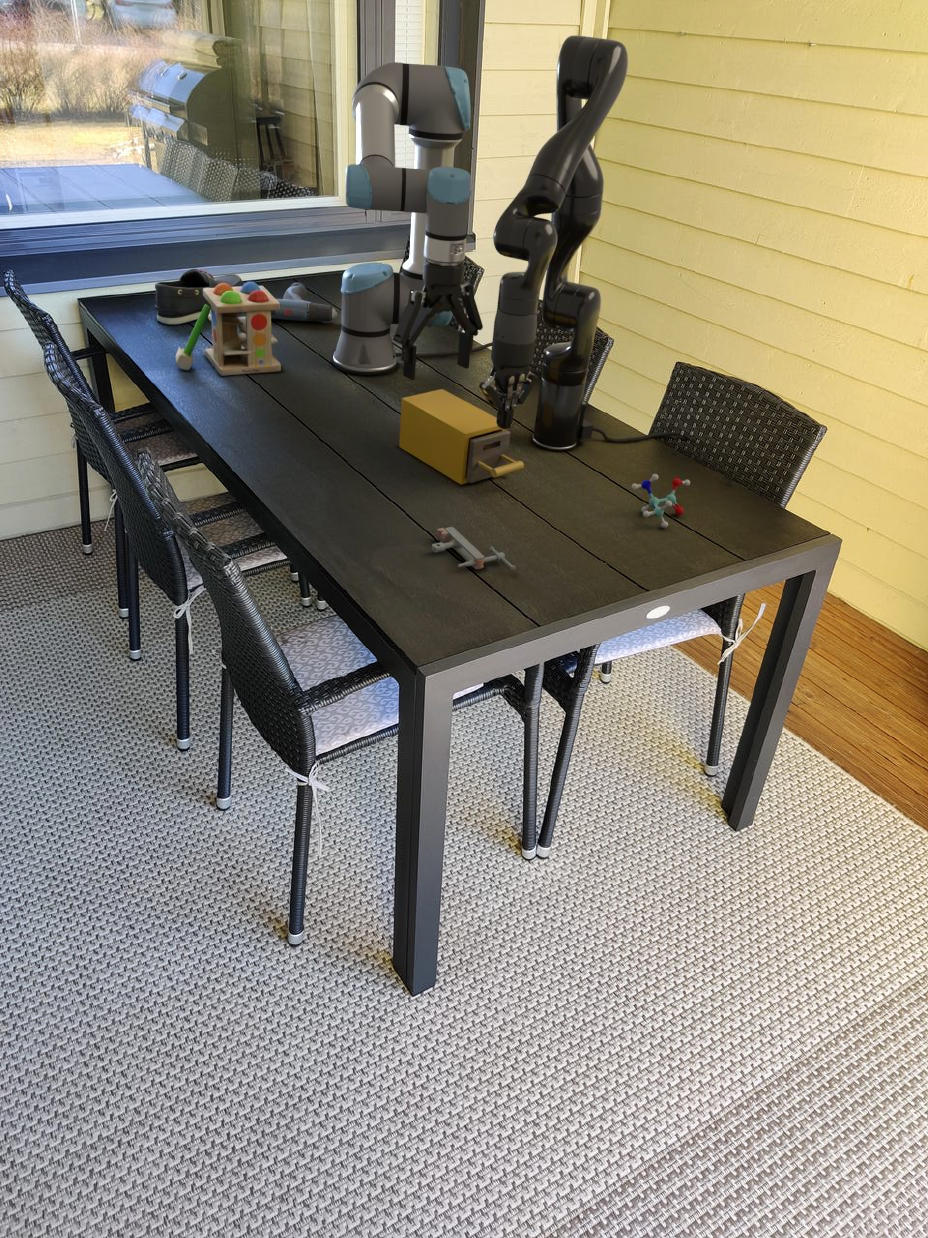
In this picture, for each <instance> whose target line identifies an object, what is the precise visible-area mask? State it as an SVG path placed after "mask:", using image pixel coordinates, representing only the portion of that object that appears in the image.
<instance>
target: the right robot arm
mask: <svg viewBox="0 0 928 1238" xmlns="http://www.w3.org/2000/svg"><path fill="white" fill-rule="evenodd" d="M558 53H559V54H558V58H557V65H556V85H555V86H556V87H555V88H556V89H555V91H556V92H555V93H556V132H555V133H554V134H553V135H552V136H551V137H550V138H549V139H548V140H547V141H546V142H545V143H544V144H543V145H542V147H541V148H540V150H539V151H538V153H537V155H536V156H535V158H534V161H533V162H532V166H531V168H530V170H529V173H528V175H527V177H526V180H525V182H524V185H523V186H522V188H521V189H520V190H519V191H518V193H517V194H516V195H515V197H514V198H513V199H512V201H511V202H510V203H509V204H508V206H507V207H506V209H504V211H503V212H502V214H501V215H500V217H498V220H497V221H496V223H495V226H494V229H493V237H492V239H493V241H492V242H493V245H494V248H495V251H496V252H497V253H498V254H499V255H501V256H503V257H506V258H510V259H514V260H515V259H516V260H519V261H524V262H527V266H526V269H525V271H510V272H506V273H504V274H503V275H502V276H501V278H500V280H499V286H498V288H499V289H498V297H497V307H496V313H495V315H494V316H495V317H494V322H493V332H492V341H491V342H492V346H491V349H490V350H491V352H490V359H491V362H492V367H491V369H490V372H489V378H488V379H487V380H486V381H485V382H484V381H481V382H480V383H479V384H478V388H479V389H480V391H481V393H482V395H483V396H484V397H485V399H486V401H487V403H488V404H489V406H491V407H493V408H495V409H497V411H496V412H497V413H496V418H497V420H496V423H497V425H498V427H500V428H502V429H506V430H507V429H510V428H511V427H512V424H513V421H514V415H515V410H516V408H517V406H518V405H523V404H524V403H525V401H526V399H527V398H528V396H529V395H530V393H531V392H532V390H533V388H534V387H535V385H536V384H537V382H538V380H539V376H538V375H536V374H534V373H532V371H531V364H533V361H534V354H535V345H536V338H537V330H538V329H537V328H538V309H539V304H540V303H539V302H540V294H541V287H542V286H543V281H544V286H543V287H544V288H543V293H542V303H541V318H542V321H543V323H544V324H545V325H546V326H547V327H549V328H552V329H556V330H559V331H564V332H567V333H571V334H573V335H572V339H571V340H570V341H567V342H558V343H554V344H551V345H549V346H547V347H546V348H545V350H544V353H543V360H542V361H543V362H542V368H541V377H540V384H539V391H538V397H537V398H538V399H537V404H536V405H537V406H536V414H535V415H534V417H535V419H534V429H533V434H532V442H533V443H534V444H535V445H536V446H538V447H540V448H542V449H545V450H547V451H548V450H549V451H554V452H555V451H556V452H564V451H570V450H572V449H575V448H576V446H580V444H581V441H583V440H589V439H592V435H593V432H596V433H598V434H601V436H602V437H603V439H605V440H606V441H607V442H608V441H609V442H611V443H615V444H616V443H618V444H621V443H629V442H637V441H644V440H647V439H651V438H657V437H658V438H659V437H660V438H661V437H669V436H680V437H683V438H685V439H686V440H687V441H688V442H692V441H693V439H692V438H691V437H690V435H688V436H681V435H680V434H679V432H680V431H668V432H655V433H650V434H646V435H642V436H636V437H635V436H634V437H627V438H613V437H609V436H608V435H607V434H606V431H604V430H602V429H601V428H598V427H595V426H594V424H593V423H592V422H589V421H588V420H586V419H585V414H586V408H587V402H586V401H585V400H584V397H585V390H586V384H587V383H586V382H587V377H588V371H589V365H590V359H591V355H592V351H593V347H594V342H595V336H596V331H597V328H598V323H599V318H600V315H601V314H600V313H601V306H602V295H601V291H600V290H599V288H596V287H594V286H591V285H586V284H582V283H577V282H572V281H569V278H568V277H569V270H570V266H571V262H572V260H573V258H574V257H575V255H576V253H577V251H579V249H580V247H581V246H582V245H583V244H584V242H585V241H586V240H587V239H588V238H589V236H590V235H591V234H592V232H593V231H594V230H595V228H596V226H597V225H598V223H599V221H600V218H601V217H602V216H601V215H602V207H603V198H604V189H605V179H604V174H603V170H602V167H601V164H600V162H599V158H598V156H597V154H596V153H595V150H594V148H593V146H592V144H591V142H593V140H594V138H595V136H596V135H597V133H598V132H599V131H600V128H601V127H602V125H603V124H604V122H605V120H606V119H607V116H608V115H609V114H610V112H611V110H612V109H613V106H614V105H615V103H616V101H617V100H618V98H619V96H620V93H621V92H622V89H623V87H624V84H625V81H626V78H627V73H628V66H629V55H628V51H627V48H626V45H624V43H622V42H621V41H618V40H613V39H608V38H600V37H595V36H593V37H592V36H585V35H570V36H567V37H566V39H565V40H564V41H563V42H562V44H561V47H560V50H559V52H558ZM583 100H584V101H586V102H585V104H584V105H583ZM549 214H551V215H550V219H547V218H543V217H537V216H540V215H549Z"/></svg>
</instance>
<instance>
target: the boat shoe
mask: <svg viewBox="0 0 928 1238" xmlns="http://www.w3.org/2000/svg"><path fill="white" fill-rule="evenodd" d="M221 283H226V284H228V285H230V286H231V287H242V286H243V285H244V284H245V283H244V281H243V280H242V278H241V276H239V275H238V274H234V273H229V274H224V275H217V276H213V275H211V273H209V272H207V271H205V270H202V269H198V268H191V269H189V270H186V271H185V272H184V273H182V274H181V276H180V277H179V279H178V280H172V281H158V282H155V284H154V289H155V305H154V309H155V310H157V312H156V318H157V319H156V320H157V321H159V322H160V323H162V324H165V325H180V324H184V323H189V322H192V321H197V320H198V318H199V316H200V314H201V311H202V309H203V307H204V305H208V306H210V307H211V305H210V304H209V302H208V301H207V300H206V299H205V297H204V296H203V289H204V288H215V287H216V286H217V285H218V284H221ZM209 314H211V310H210V312H209Z"/></svg>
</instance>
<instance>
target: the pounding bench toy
mask: <svg viewBox="0 0 928 1238" xmlns="http://www.w3.org/2000/svg"><path fill="white" fill-rule="evenodd" d="M203 296H204V297H205V299H206V300H207V301H208V302H209V304H210V305H211V307H210V306H208V305H204V307H203V309H202V311H201V314H200V316H199V318H198V319H196V322H195V324H194V327H193V329H192V331H191V332H190V333H191V334H190V336H189V338H188V340H187V343H186V344H185V347H184V348H182V347H180V346H179V347H178V349H177V351H176V354H175V357H174V358H175V362H176V365H177V366H178V368H179V369H182V370H185V371H189V370H190V369H191V367H192V365H193V363H194V356H193V351H194V348H195V347H196V345H197V342H198V340H199V337H200V336H201V333H202V332H203V329H204V326H205V325H206V322H207V320H209V321H210V322H211V336H212V337H211V338H212V339H211V340H212V348H205V349H204V352H205V353H204V355H205V357H206V359H208V361H209V363H210V364H211V365H212V366H213V367H214V369H215V370H216V371H217V372H218V374H219V375H220V376H222V377H223V376H234V375H235V376H236V375H246V374H247V375H250V374H262V373H275V372H281V370H282V364H281V363H280V362H279V360H278V359H277V358H276V357H275V356H274V355H273V348H272V347H273V345H272V344H276V343H278V342H279V341H278V339H277V338H276V337H275V336H274V334H272V318H271V310H280V303H279V302H278V301H277V300H276V299H277V298H276V297H274V296H273V295H272V294H271V293H270V292H269V290H268V289H267V288H266V287H264V285H259V284H257V283H256V282H255V281H247V282H245V283H244V285H243V286H242V287H231V286H230V285H228V284H226V283H221V284H218V285H217V286H216V287H215V288H204V289H203ZM210 310H211V313H209V312H210ZM238 313H244V314H245V315H244V316H238ZM238 329H239V331H240V333H239V334H238Z"/></svg>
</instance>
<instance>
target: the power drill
mask: <svg viewBox="0 0 928 1238" xmlns="http://www.w3.org/2000/svg"><path fill="white" fill-rule="evenodd" d="M307 295H308V290H307V287H306V285H304V284H303V283H301V282H293V283H292V284H291V285H290V286H289V287H288V288H287V289H286V291H285V292H284V294H283V297H282V298H275V299H276V300H277V301H278V302H279V303H280V310H271V319H274V320H275V319H276V320H283V321H294V322H295V321H297V322H332V321H333V320H334V319H336V318H337V317H338V312H337V311H336V308H334V307H333V306H332V305H331V304H324V303H317V302H313V301H307V300H305V299H306V297H307Z"/></svg>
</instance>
